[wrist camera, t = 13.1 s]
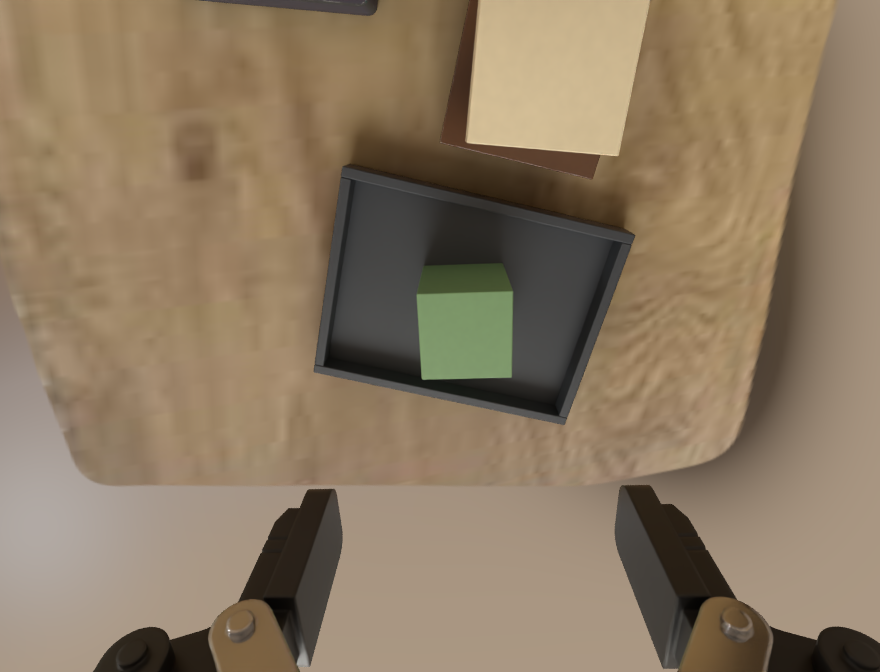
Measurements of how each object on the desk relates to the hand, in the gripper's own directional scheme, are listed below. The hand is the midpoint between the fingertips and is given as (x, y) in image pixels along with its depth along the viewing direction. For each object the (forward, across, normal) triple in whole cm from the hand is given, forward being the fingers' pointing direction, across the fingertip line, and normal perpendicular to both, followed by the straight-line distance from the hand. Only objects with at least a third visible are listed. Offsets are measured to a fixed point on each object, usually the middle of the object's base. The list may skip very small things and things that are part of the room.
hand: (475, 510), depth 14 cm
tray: (+20, 0, 0) cm, 20 cm away
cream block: (+16, -4, -12) cm, 20 cm away
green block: (+19, 0, 0) cm, 19 cm away
